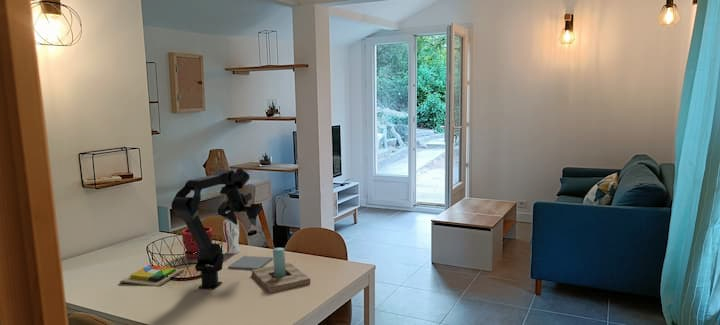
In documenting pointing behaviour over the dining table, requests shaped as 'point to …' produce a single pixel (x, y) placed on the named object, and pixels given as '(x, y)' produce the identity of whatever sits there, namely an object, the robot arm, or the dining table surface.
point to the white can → (231, 236)
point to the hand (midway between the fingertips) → (245, 224)
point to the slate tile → (250, 262)
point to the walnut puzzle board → (273, 285)
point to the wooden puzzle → (152, 275)
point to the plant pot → (193, 242)
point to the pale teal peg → (279, 262)
